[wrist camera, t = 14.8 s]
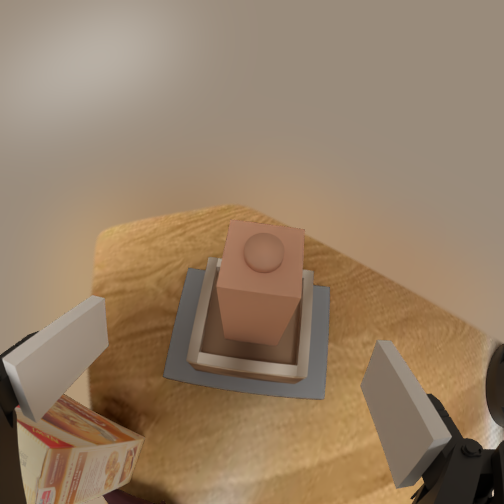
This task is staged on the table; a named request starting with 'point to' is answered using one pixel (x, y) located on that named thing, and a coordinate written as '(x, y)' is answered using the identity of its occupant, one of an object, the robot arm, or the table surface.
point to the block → (259, 281)
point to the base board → (186, 373)
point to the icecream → (124, 498)
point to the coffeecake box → (74, 454)
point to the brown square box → (245, 353)
